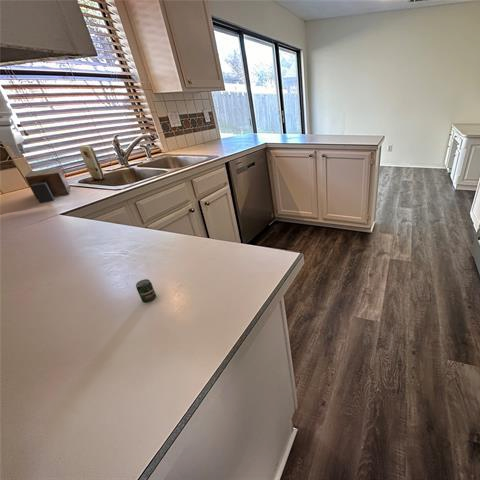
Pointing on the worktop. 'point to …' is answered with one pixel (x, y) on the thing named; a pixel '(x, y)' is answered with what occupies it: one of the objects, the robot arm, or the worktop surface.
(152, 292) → the beer can
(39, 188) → the holder
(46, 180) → the brown wooden stand
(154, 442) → the worktop surface
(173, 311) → the worktop surface
